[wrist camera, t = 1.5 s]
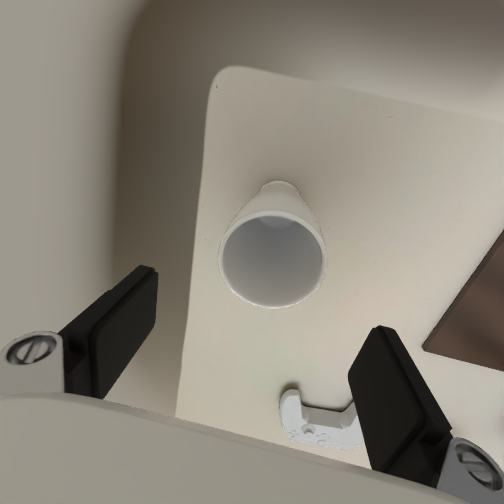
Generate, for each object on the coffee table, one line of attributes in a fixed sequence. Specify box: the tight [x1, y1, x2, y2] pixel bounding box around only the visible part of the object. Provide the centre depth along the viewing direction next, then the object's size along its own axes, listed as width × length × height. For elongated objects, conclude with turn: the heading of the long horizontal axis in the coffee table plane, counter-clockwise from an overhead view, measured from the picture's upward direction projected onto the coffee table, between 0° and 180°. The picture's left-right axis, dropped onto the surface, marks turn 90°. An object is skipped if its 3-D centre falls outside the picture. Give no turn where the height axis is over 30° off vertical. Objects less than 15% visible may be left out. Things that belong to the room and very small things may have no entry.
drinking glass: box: [218, 181, 328, 309], centre depth 22 cm, size 7×7×15 cm
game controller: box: [279, 389, 364, 451], centre depth 40 cm, size 14×4×10 cm
